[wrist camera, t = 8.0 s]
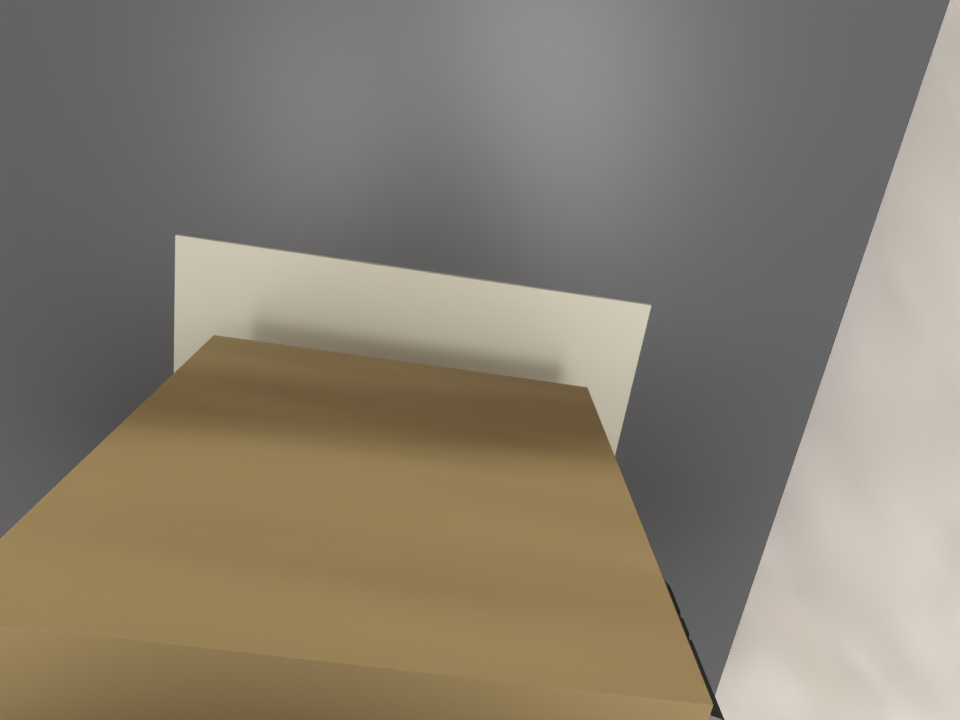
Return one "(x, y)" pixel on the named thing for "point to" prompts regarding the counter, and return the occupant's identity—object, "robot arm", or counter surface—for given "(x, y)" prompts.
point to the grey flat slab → (459, 220)
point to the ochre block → (342, 556)
